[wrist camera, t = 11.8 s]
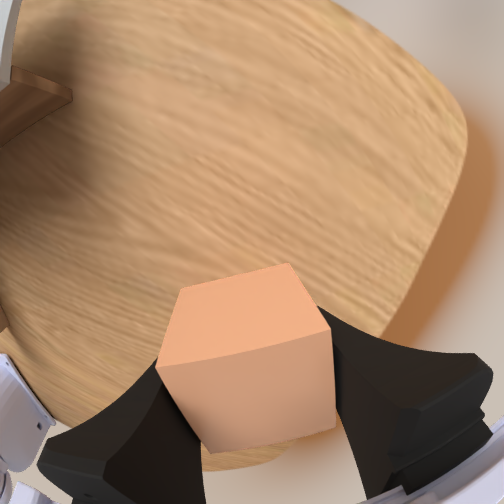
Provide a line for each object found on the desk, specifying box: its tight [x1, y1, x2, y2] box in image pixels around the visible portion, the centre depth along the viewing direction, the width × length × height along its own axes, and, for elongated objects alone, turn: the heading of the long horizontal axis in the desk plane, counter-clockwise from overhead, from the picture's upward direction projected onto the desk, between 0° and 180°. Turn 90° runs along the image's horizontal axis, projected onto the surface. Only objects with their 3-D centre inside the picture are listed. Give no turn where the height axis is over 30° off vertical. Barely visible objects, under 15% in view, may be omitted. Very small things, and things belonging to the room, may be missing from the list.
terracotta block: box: [155, 263, 336, 454], centre depth 9 cm, size 4×4×5 cm
